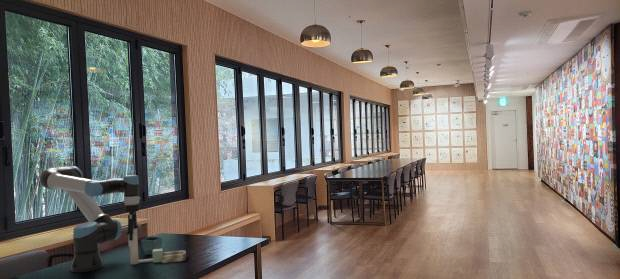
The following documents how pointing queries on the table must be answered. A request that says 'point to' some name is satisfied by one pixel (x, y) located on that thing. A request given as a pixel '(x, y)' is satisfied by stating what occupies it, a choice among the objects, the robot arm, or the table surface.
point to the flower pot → (151, 244)
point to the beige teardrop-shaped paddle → (134, 259)
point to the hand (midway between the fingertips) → (133, 243)
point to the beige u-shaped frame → (174, 256)
